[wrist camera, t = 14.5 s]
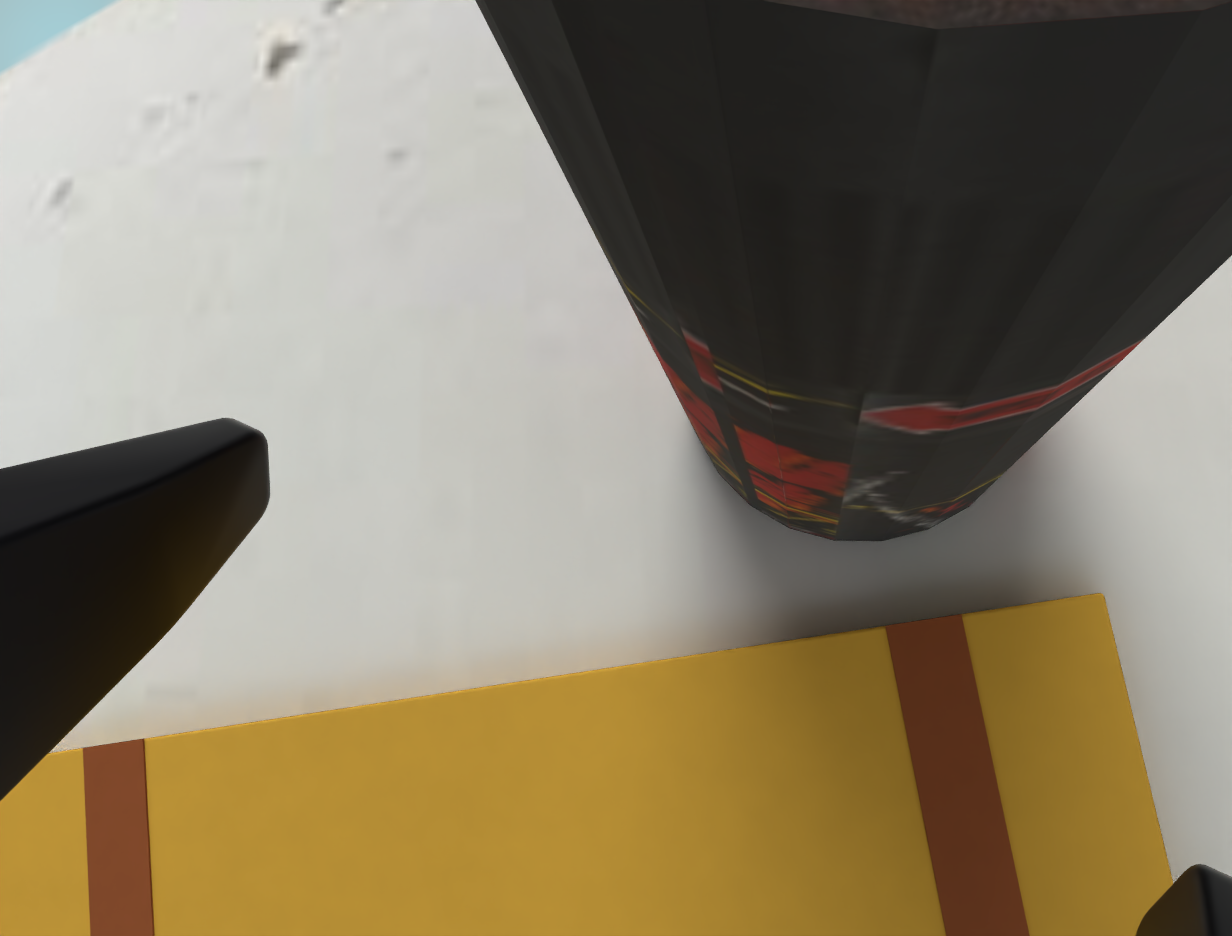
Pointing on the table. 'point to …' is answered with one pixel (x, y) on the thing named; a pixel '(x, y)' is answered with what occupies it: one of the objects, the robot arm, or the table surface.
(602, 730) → the tea towel
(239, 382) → the table surface
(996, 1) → the deodorant
